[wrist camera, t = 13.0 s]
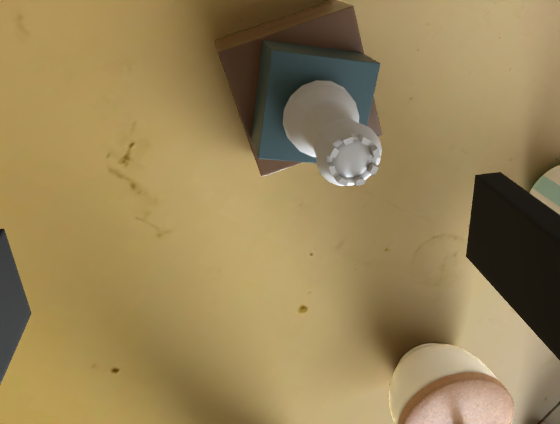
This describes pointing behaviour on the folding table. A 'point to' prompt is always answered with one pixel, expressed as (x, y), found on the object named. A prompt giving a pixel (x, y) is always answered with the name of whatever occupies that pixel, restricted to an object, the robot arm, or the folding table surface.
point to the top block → (295, 73)
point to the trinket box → (447, 389)
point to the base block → (296, 30)
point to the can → (548, 189)
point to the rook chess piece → (332, 133)
